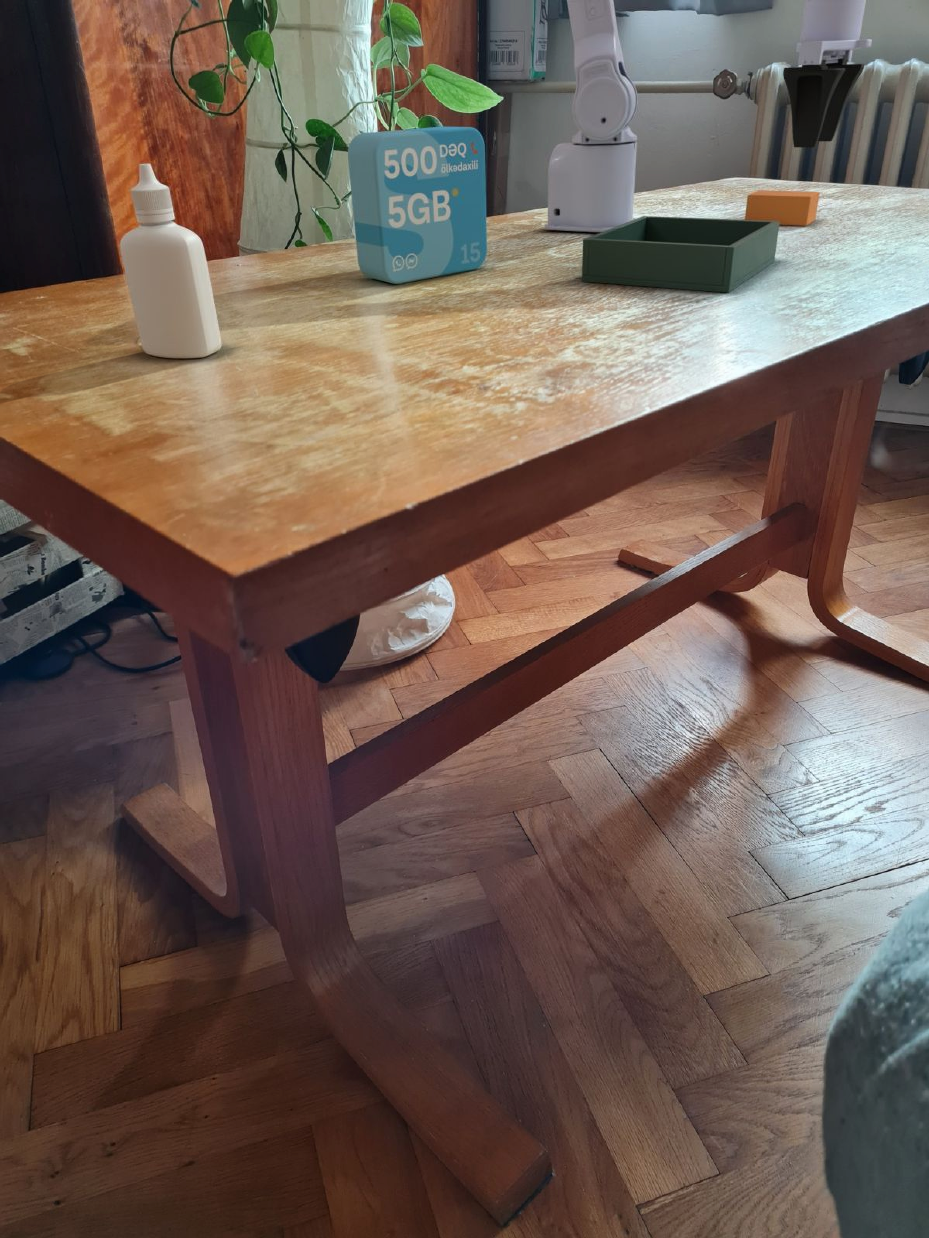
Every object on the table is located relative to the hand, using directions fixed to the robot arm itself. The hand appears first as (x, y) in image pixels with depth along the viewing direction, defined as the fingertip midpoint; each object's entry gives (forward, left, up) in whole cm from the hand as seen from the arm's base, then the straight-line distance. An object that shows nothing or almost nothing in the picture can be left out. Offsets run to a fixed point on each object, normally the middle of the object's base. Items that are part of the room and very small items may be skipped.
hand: (813, 144), depth 94 cm
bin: (-4, -28, -8) cm, 29 cm away
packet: (-3, +3, -8) cm, 9 cm away
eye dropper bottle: (-27, -67, -8) cm, 73 cm away
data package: (-26, -37, -8) cm, 46 cm away
